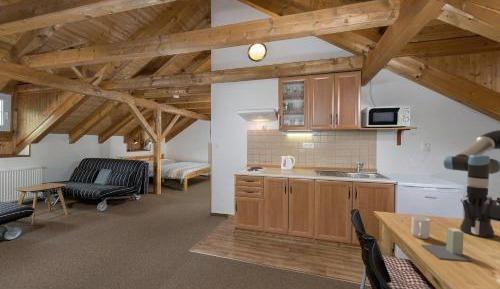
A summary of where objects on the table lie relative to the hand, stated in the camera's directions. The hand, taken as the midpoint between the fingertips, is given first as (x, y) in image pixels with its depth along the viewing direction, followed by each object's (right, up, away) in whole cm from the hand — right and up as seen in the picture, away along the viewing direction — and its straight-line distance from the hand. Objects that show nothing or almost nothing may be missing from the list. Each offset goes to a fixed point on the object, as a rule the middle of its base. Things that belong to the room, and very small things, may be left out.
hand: (474, 233), depth 115 cm
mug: (-12, -10, +20) cm, 26 cm away
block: (-9, -10, +2) cm, 13 cm away
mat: (-14, -10, +1) cm, 17 cm away
